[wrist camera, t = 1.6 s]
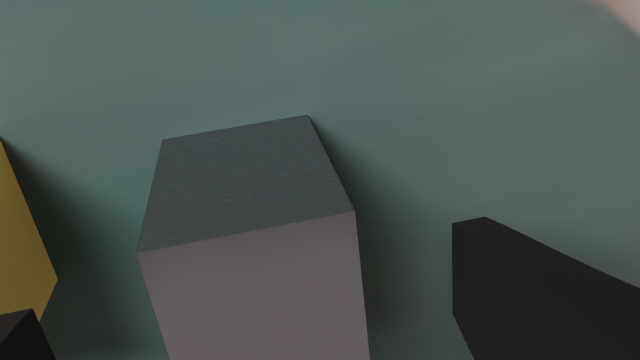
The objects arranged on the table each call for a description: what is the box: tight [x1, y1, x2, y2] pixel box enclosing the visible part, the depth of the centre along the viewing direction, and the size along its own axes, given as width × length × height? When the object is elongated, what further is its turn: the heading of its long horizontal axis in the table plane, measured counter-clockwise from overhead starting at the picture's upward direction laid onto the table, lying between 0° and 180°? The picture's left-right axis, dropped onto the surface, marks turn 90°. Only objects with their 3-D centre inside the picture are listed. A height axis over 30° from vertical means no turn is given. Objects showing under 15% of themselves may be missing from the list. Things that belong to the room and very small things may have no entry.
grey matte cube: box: [136, 115, 370, 360], centre depth 12 cm, size 4×4×5 cm
